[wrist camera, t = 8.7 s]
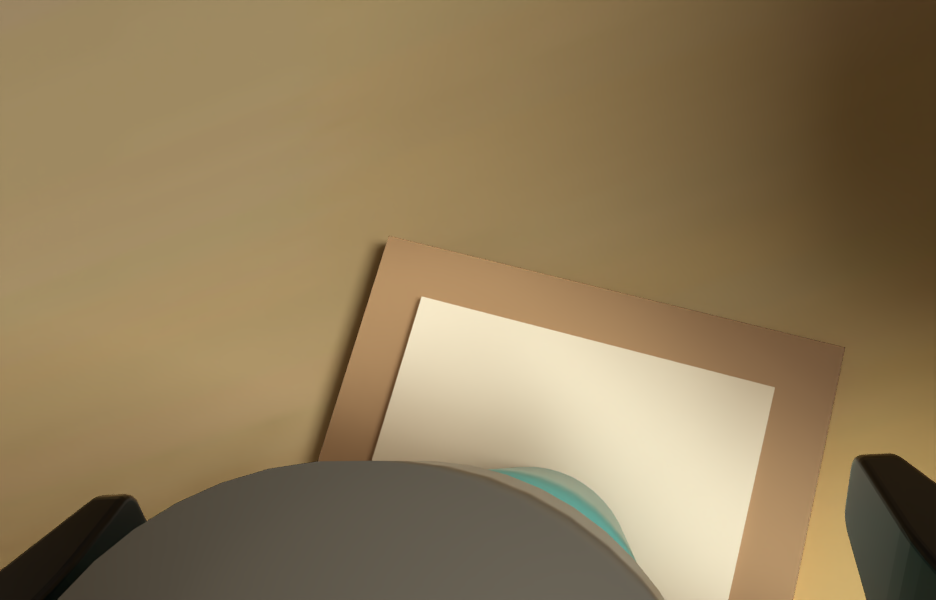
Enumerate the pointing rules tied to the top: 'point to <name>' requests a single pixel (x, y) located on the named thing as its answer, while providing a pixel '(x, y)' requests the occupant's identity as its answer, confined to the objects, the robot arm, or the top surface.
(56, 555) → the robot arm
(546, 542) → the marker
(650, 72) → the top surface
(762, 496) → the brown picture frame
